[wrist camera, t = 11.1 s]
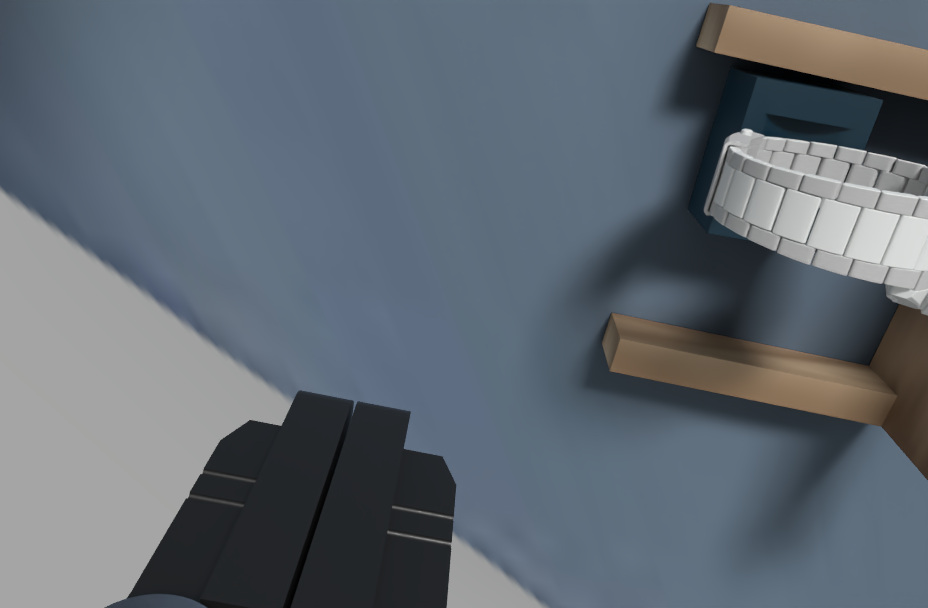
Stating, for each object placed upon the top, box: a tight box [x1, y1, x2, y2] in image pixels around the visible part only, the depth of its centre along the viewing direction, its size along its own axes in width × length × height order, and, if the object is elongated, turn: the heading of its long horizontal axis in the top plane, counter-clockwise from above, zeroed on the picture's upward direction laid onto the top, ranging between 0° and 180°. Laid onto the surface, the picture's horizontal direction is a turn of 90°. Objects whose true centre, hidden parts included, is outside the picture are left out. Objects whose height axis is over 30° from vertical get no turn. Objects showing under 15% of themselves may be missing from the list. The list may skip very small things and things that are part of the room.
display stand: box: [602, 3, 928, 480], centre depth 25 cm, size 14×14×10 cm
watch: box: [688, 67, 928, 316], centre depth 23 cm, size 6×8×11 cm
